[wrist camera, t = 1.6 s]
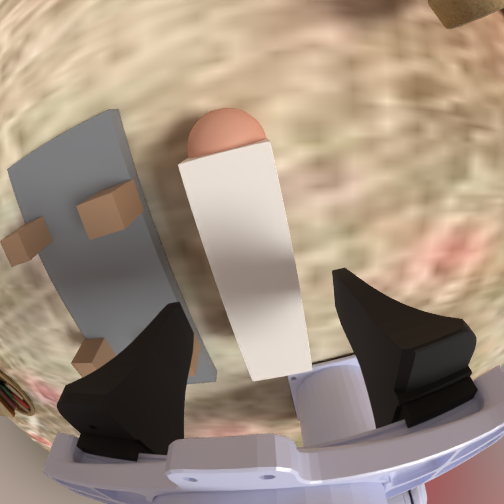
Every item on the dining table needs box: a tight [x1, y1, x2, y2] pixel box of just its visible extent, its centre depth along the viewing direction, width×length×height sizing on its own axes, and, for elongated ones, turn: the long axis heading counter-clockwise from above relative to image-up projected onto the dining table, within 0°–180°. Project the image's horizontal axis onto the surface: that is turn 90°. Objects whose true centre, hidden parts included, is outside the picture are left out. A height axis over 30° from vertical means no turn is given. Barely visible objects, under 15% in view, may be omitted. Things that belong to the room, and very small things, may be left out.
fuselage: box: [178, 108, 313, 381], centre depth 16 cm, size 16×4×5 cm, turn 13°
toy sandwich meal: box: [0, 371, 35, 417], centre depth 27 cm, size 12×14×5 cm
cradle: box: [0, 109, 217, 384], centre depth 18 cm, size 22×10×4 cm, turn 13°
